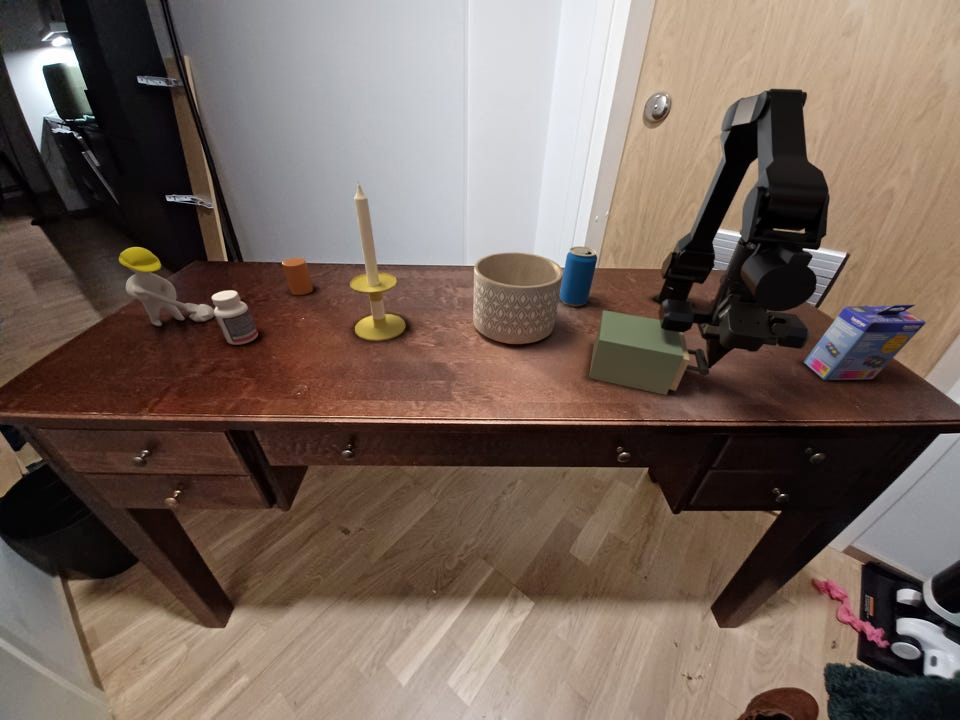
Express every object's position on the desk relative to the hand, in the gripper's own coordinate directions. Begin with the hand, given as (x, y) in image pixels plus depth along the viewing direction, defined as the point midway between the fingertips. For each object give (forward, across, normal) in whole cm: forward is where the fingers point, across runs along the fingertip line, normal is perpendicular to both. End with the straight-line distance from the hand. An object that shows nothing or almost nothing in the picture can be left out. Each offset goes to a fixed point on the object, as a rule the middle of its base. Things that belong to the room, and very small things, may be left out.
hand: (708, 367), depth 60 cm
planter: (+2, -34, +7) cm, 35 cm away
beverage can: (+3, -24, +23) cm, 33 cm away
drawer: (+2, -8, 0) cm, 9 cm away
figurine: (0, -97, -14) cm, 98 cm away
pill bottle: (0, -82, -15) cm, 83 cm away
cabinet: (+3, -12, 0) cm, 12 cm away
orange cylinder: (0, -85, +5) cm, 85 cm away
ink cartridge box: (+5, +25, +12) cm, 28 cm away
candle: (+1, -60, -3) cm, 60 cm away
